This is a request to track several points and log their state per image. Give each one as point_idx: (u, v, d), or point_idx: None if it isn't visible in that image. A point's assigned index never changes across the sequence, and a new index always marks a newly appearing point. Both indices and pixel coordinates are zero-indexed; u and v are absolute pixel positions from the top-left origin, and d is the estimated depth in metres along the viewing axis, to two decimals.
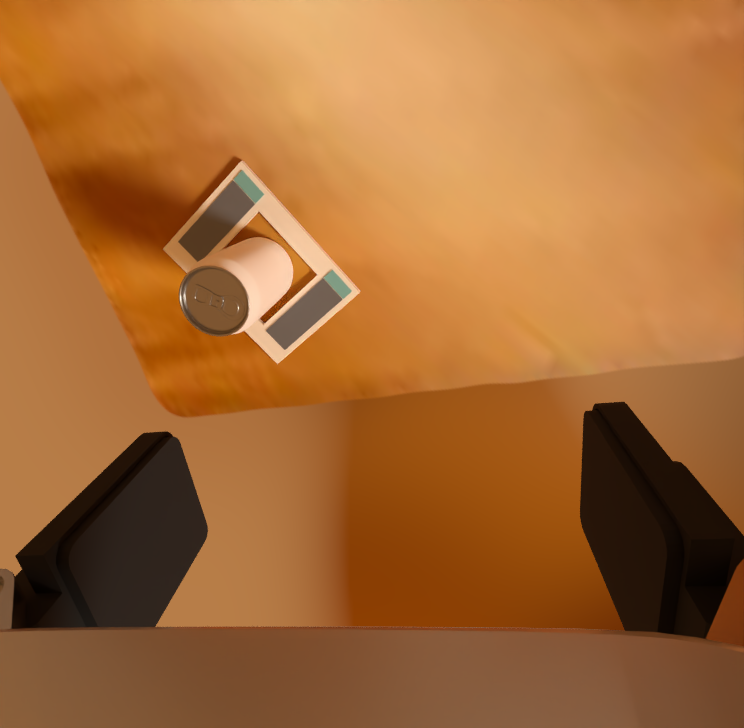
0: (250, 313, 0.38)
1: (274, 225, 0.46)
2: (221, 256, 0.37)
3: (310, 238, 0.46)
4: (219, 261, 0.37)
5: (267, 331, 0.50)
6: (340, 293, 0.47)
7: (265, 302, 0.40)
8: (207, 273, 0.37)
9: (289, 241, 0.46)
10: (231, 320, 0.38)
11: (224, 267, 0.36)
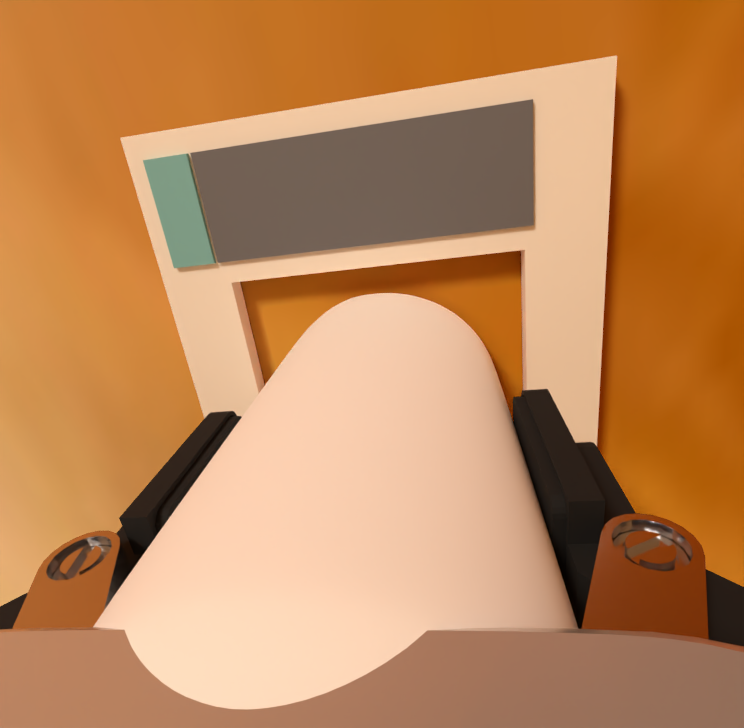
0: None
1: None
2: None
3: (195, 380, 0.15)
4: None
5: (531, 218, 0.12)
6: (188, 178, 0.13)
7: (158, 542, 0.06)
8: None
9: None
10: None
11: None
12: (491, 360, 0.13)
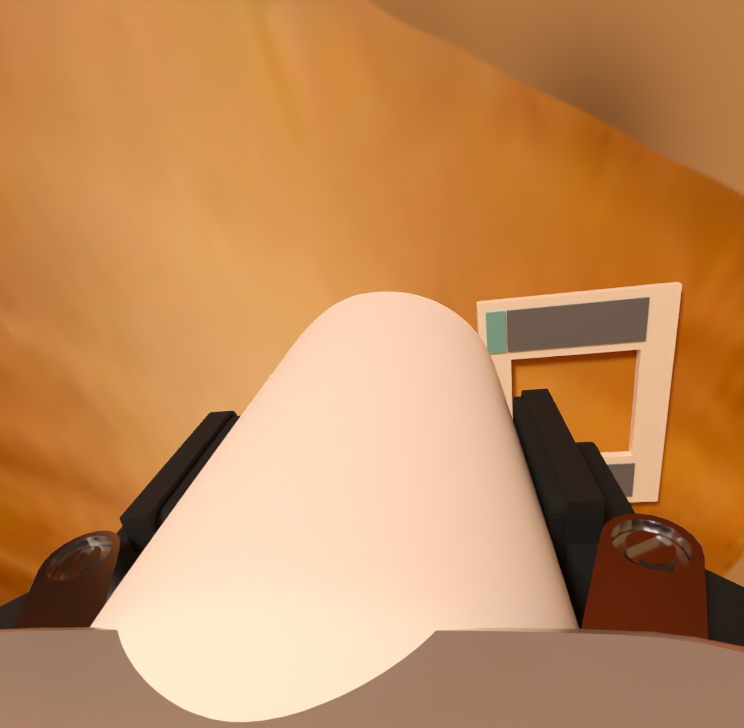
0: None
1: None
2: None
3: None
4: None
5: (644, 338, 0.30)
6: (502, 319, 0.31)
7: (157, 539, 0.06)
8: None
9: None
10: None
11: None
12: (491, 359, 0.13)
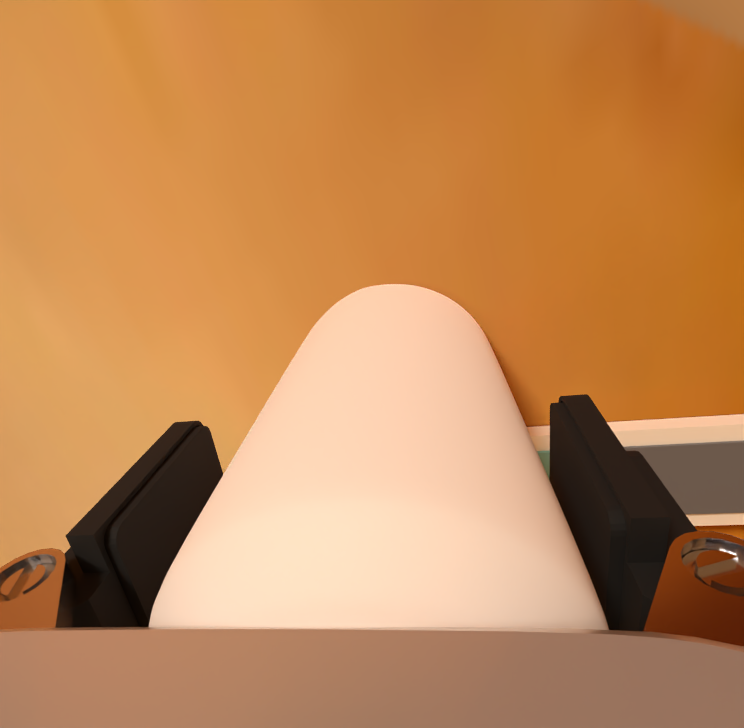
0: (222, 608, 0.05)
1: None
2: None
3: None
4: None
5: None
6: None
7: (229, 480, 0.07)
8: None
9: None
10: None
11: None
12: None
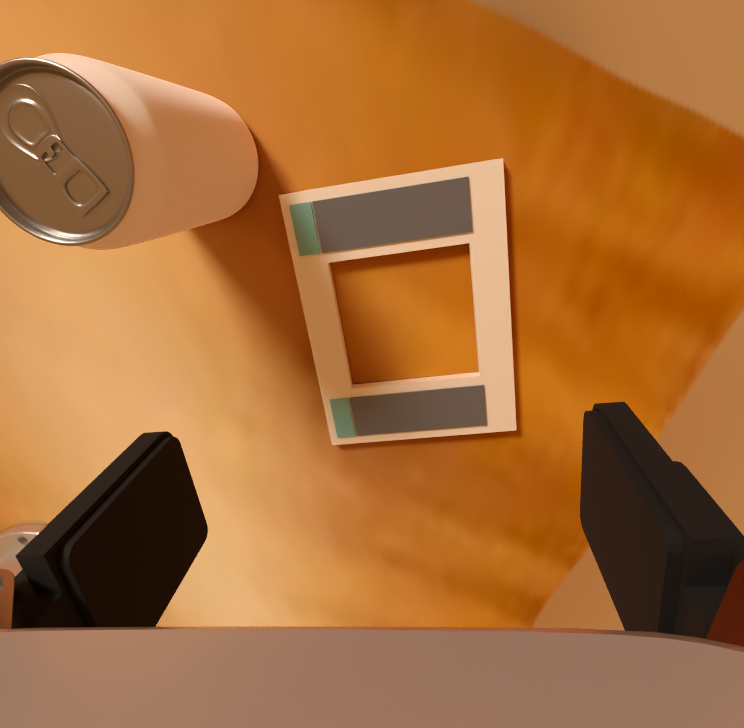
0: None
1: (343, 360, 0.30)
2: None
3: (305, 315, 0.29)
4: None
5: (471, 228, 0.26)
6: (309, 213, 0.27)
7: None
8: (47, 220, 0.17)
9: (336, 330, 0.29)
10: (38, 93, 0.15)
11: None
12: (243, 125, 0.25)
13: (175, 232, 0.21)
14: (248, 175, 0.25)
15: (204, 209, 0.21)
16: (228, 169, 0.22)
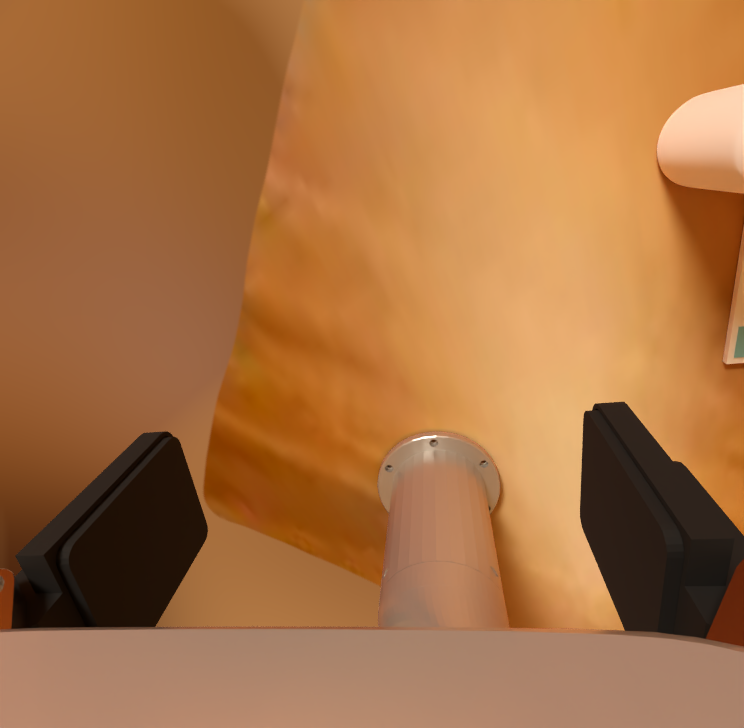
0: None
1: None
2: (742, 182, 0.28)
3: (743, 260, 0.39)
4: None
5: None
6: None
7: None
8: None
9: None
10: None
11: None
12: None
13: None
14: None
15: None
16: None
